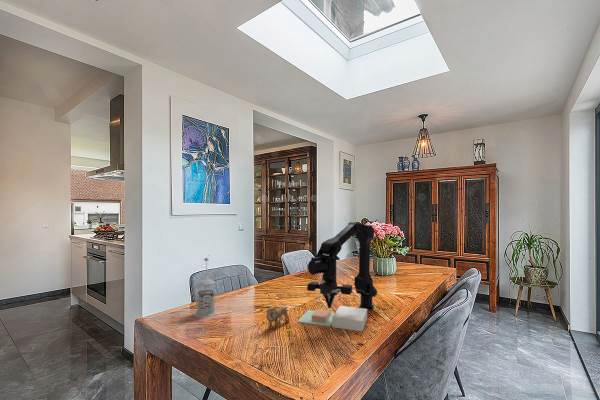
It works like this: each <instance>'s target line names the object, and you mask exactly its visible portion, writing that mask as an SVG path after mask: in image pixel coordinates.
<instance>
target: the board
mask: <svg viewBox="0 0 600 400" xmlns="http://www.w3.org/2000/svg"><path fill="white" fill-rule="evenodd" d="M334 313H335V314H334V316H333V317H332V324H331V326H332V327H331V328H336V329H342V330H350V331H357V332H363V331H364V329H365V326H366V322H367V320H368V309H364V308H359V307H354V306H345V305H339V306H338V308H337V310H336V311H335V312H334Z"/></svg>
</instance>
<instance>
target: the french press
mask: <svg viewBox="0 0 600 400" xmlns="http://www.w3.org/2000/svg"><path fill="white" fill-rule="evenodd" d="M203 260H204V261H205V265H206V266H205V272H207V266H208V265H207V264H208V262H207V261H209V258H208V257H205V258H204V259H203ZM215 284H216V282H215V280H213V279H209V278H208V279H207V278H204V279H201V280H199V281H198V282H196V285H195V286H193V288H192V290H191V292H190V293H191V294H190V295H191V299H192V300H194V299H196V300H194V302H195V303H196V312H195V313H194V314H193V315H194V317H195V318H201V319H202V318H203V319H205V318H211V317H214V316H215V315H217V314H218V312H217V311H216V310H215V303H216V301H215V300H216V297H215V296H216V295H215V290H212V289H203V290H199V289H200V287H210V286H214V285H215ZM195 289H197V290H198V292H197V295H196V297H195Z"/></svg>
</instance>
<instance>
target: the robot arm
mask: <svg viewBox="0 0 600 400" xmlns="http://www.w3.org/2000/svg"><path fill="white" fill-rule="evenodd" d="M354 234H355V235H356V239H357V241H358V243H359V244H358V245H359V247H358V249H359V251H358V252H359V253H358V255H359V257H358V274H357V276H354V283H353V285H354V288H355V292H356V294H358V295H360V301H359V302H360V304H359V306H358V308H364V309H367V310H371V311H372V310H374V308H375V307H374V305H375V304H373V303H374V302H373V299H374V298H375V297H376V296H377V295H378V290H377V289H376V287H375V285H374V281H373V278H372V276H371V274H370V266H371V265H370V264H371V263H370V261H371V260H370V258H371V243H372V241H373V240H374V236H375V228H374V227H373V226H372V225H371V224H363V223H361V222H358V221H357V222H356V221H355V222H353V221H350V222H349V223H348V224H347V225H346V226H345V227H343V229H342V230H340V232H338V233H337V234H336V235H335V236H334V237H331V238H328V239H327V240H325V241H323V242H322V243H321V245H320V247H319V250H318V251H317V253H316V255H315V257H313V256H312V257H311V258H310V261H309V262H308V264H307V271H308V272H309V274H310V275H313V276H314V275H320V274H322V275H321V277H322V278H321V281H320V282H319V281H310V282H309V283H308V284H307V285H306V291H309V292H315V291H316V289H317V290H319V294H321V295H322V296H323V297H324V299H325V301H326V305H327V308H328V309H331V308H332V305H333V302H334V299H335V298H336V296H338V294H339V293H341V294H342V295H351V294H352V293H353V286H352V284H343V283H342V285H340V286H339V285H338V281H337V275H338V273H337V261H340V259H341V258H340V257H339V256H338V254H340V252H341V251H342V248H343V247H342V246H343V245H344V244H345V243H347V241H348V240H349V239H350V238H351V237H352V236H353V235H354Z"/></svg>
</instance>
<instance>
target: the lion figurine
mask: <svg viewBox="0 0 600 400" xmlns="http://www.w3.org/2000/svg"><path fill="white" fill-rule="evenodd" d="M265 314H266V319H267V321H268V322H269V323H268V324H269V325H268V328H269V329H272V327H273V324H272V323H273V322H274V329H275V330H277V329H278V324H279V323H281V321H282V320H283V318H282V317H283V316H284V317H285V320H286V323H290V316H289V315H288V309H287V308H286V307H285V306H280V307H278V308H275V307H274V306H269V307H268V308H267V310H266V313H265Z"/></svg>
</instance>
